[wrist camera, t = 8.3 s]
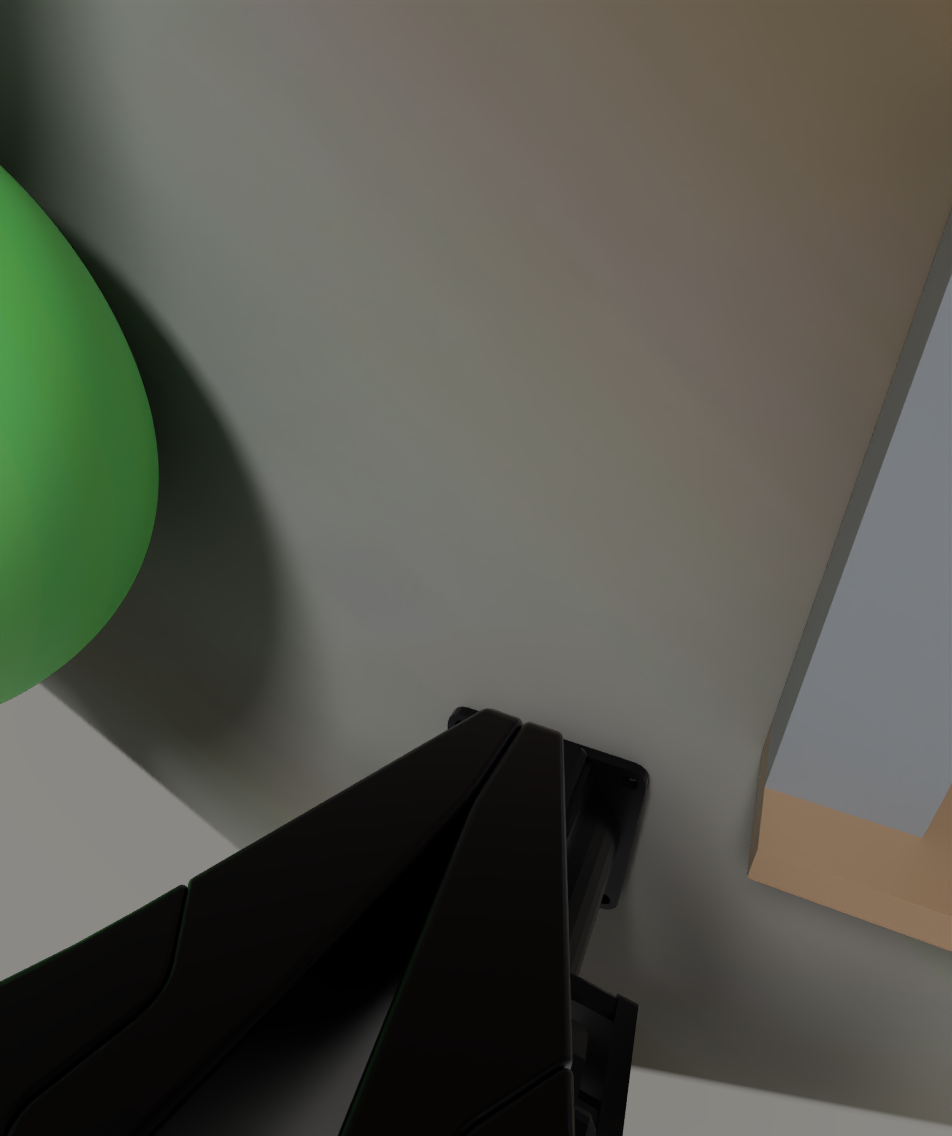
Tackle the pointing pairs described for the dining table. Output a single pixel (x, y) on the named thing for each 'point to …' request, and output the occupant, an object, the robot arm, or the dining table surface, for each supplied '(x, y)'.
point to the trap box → (877, 672)
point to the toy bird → (64, 451)
